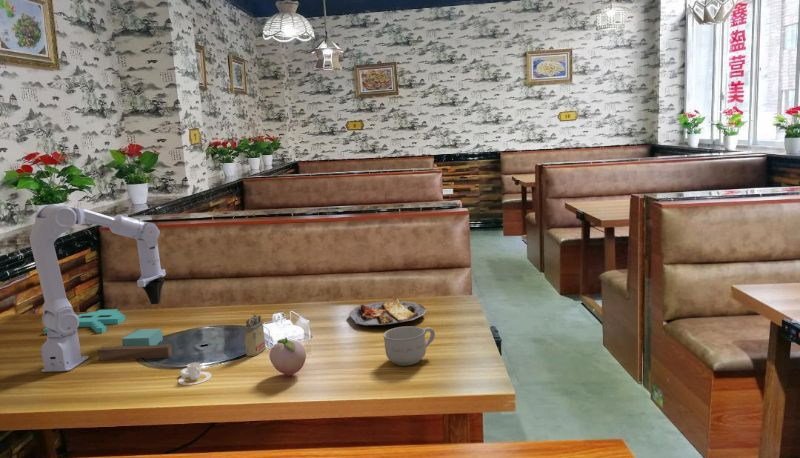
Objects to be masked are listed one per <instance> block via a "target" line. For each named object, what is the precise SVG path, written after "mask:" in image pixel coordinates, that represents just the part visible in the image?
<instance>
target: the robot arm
mask: <svg viewBox="0 0 800 458" xmlns="http://www.w3.org/2000/svg"><path fill="white" fill-rule="evenodd" d="M34 217H35V219H34V220H35V221H34V224H33V227H32V230H31V232H30V235H29V242H30V248H31V252H32V255H33V259H34V264H35V267H36V271H37V275H38V279H39V284H40V288H41V292H42V297H43V300H44V303H43V305H42V306H41V307H42V310H43V313H42V316H41V323H42V326H43V327H45V328H47V329H48V332H47V338H46V341H45V342H44V343H43V344H42V345H41V348H40V349H41V351H40V352H41V358H42V363H43V369H41V370H40V371H41V372H42V373H44V372H50V373H51V372H70V371H71V370H73V369H74V368H76V367H77V366H79V365H80V364H81V363H84V361H86V360H87V359H89V357H90V356H89V355H82V351H81V345H80V339H79V334H78V333H79V332H78V328H79V327H78V326H79V317H78V316H77V315H78V314H77V313H76V312H75V311H74V309H73V306H72V304H71V303H70V301H69V300H68V298H67V294H66V290H65V286H64V281H63V276H62V272H61V268H60V264H59V260H58V256H57V253H56V248H55V242H56V240H57V239H58V238H59V237H60V236H61V235H62V234H63V233H65V232H67V231H69V230H70V229H71V228H72V227H73V226H75V225H80V224H83V223H87V224H91V225H97V226H100V227H105V228H109V231H111V233H113V234H116V235H118V236H119V235H120V236H124V237H127V238H131V239H134V240H136V244H137V246H136V247H137V252H138V260H139V268H140V275H141V276H140V277H139V279H138V280H136V284H137V287H138V288H142V289H143V290H144V292H145V293H146V295H147V297H148V299H149V302H150V305H158V304H160V301H161V293H162V288H163V285H164V282H165V279H164V277H165V276H166V275H167V273H166V269H165V268H162V267H161V266H162V265H161V260H160V259H161V258H160V252H159V242H158V240H159V239H158V238H159V237H160V234H161V230H160V229H159V228H158V226H157V225H156V224H155V223H154V222H148V221H144V219H142V218H134V217H130V216H129V214H127V213H121V214H116V215H114V216H110V215H106V214H103V213H100V212H96V211H92V210H90V209H86V208H82V207H72V206H67V205H55V204H47V205H45V206H43V207H42V208H41V209H40V210H39V211H38V212H37V213H36V214H35V215H34Z"/></svg>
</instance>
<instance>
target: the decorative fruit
mask: <svg viewBox="0 0 800 458" xmlns="http://www.w3.org/2000/svg"><path fill="white" fill-rule="evenodd" d="M284 337H285V336H284ZM268 356H269V359H270V363H271V364H272V366H273V367H274V368H275V370H276V371H278V373H280V374H283V375H285V376H287V377H291V376H293V375H295V374H297V373H298V372H300V371H301V369H302V368H303V366H304V364H305V362H306V359H307V351H306V348H305V346H304V345H303V344H302V343H300V342H298V341H297V340H293V339H288V337H285V338H282V339H281V338H280V339H278V340H277V343H275V344H274V345H273V346H272V348H271V349H270V352H269V355H268Z"/></svg>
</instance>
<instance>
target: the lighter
mask: <svg viewBox="0 0 800 458" xmlns="http://www.w3.org/2000/svg"><path fill="white" fill-rule="evenodd" d="M252 315H253V317H251V318H248V319H245V323H246V324H245V326H244V327H243V335H244V345H245V356H246V357H254V356H255V357H256V356H257V355H259V354H261V352H263V351H265V350H266V349H267V348H266V340H265V332H264V331H265V330H264V324H263V320H262V316H261V315H258V316H257V314H252Z"/></svg>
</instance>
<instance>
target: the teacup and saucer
mask: <svg viewBox="0 0 800 458" xmlns="http://www.w3.org/2000/svg"><path fill="white" fill-rule="evenodd" d="M201 369H202V368H201V363H200V362H197V361H196V362H190V363H188V364H187V365H186V367H185V368H183V369H181V370H180V373H179V375H180V376H181V377H180V378H178V380H177V383H179V384H180V385H183V386H192V385H193V386H194V385H198V384H202V383H204V382H207V381H208V380H210V379H211V378H212V373H210V372H208V371H202V370H201ZM201 375H204V376H206V377H204V379H202V380H200V381H197V380H199V379H201ZM186 378H189V379H190V380H191V381H196V382H185V379H186Z"/></svg>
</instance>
